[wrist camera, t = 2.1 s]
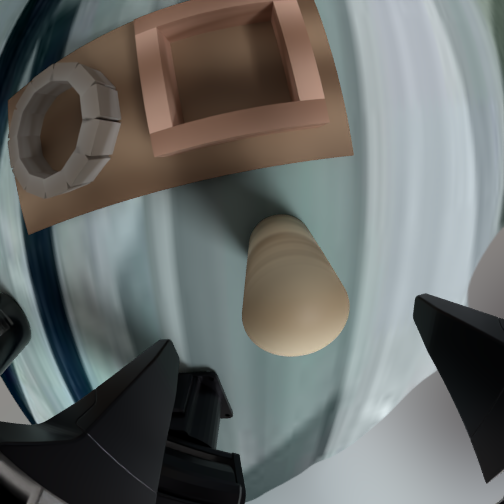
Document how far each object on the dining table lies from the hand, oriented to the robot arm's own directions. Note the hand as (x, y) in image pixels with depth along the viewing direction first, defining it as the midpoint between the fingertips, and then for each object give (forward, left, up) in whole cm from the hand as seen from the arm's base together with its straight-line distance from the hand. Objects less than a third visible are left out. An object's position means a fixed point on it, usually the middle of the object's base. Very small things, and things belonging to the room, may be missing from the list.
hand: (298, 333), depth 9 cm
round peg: (0, 0, -9) cm, 9 cm away
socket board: (+11, +7, -9) cm, 16 cm away
